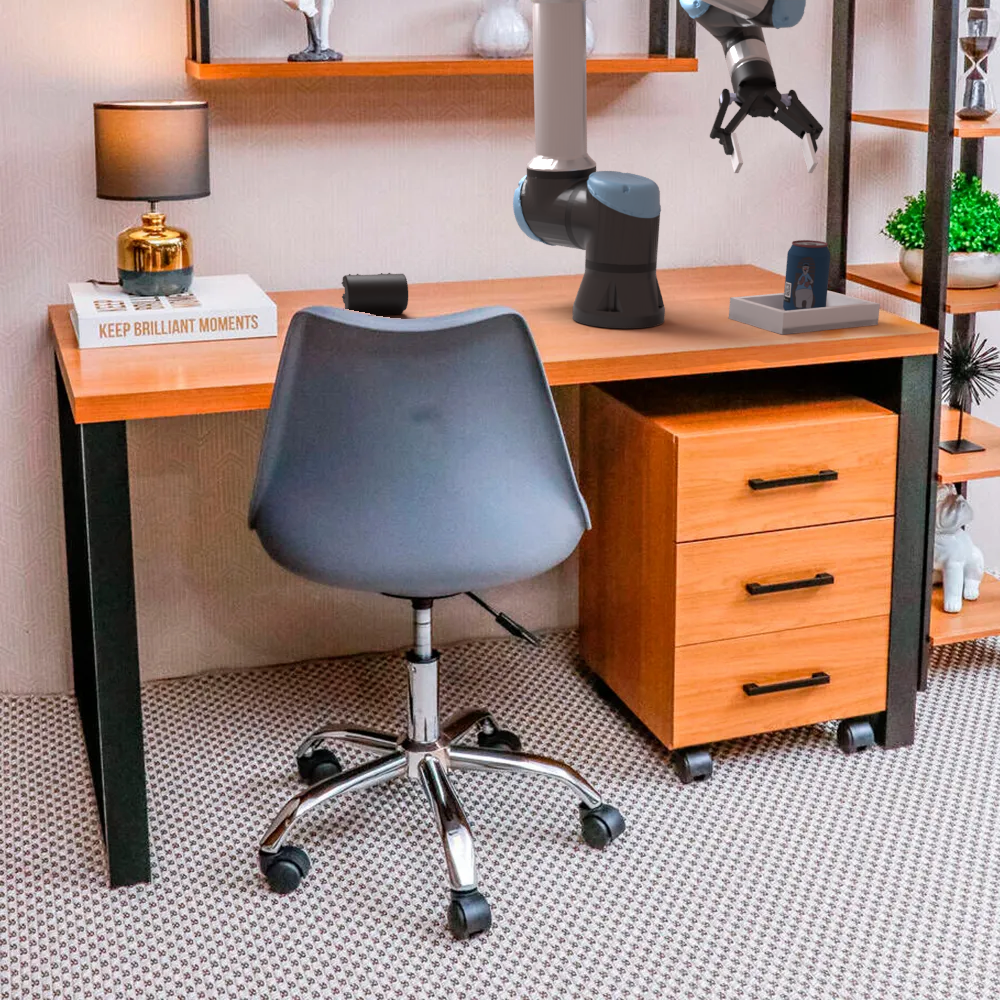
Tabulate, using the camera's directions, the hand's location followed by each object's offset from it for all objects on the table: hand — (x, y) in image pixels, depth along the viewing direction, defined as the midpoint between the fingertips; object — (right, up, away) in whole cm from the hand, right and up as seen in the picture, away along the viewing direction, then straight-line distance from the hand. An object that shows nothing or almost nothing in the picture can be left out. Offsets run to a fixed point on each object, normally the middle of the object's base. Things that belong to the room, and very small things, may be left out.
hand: (776, 168), depth 246 cm
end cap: (-68, -27, -10) cm, 74 cm away
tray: (+3, -27, -9) cm, 29 cm away
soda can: (+3, -27, -9) cm, 28 cm away
